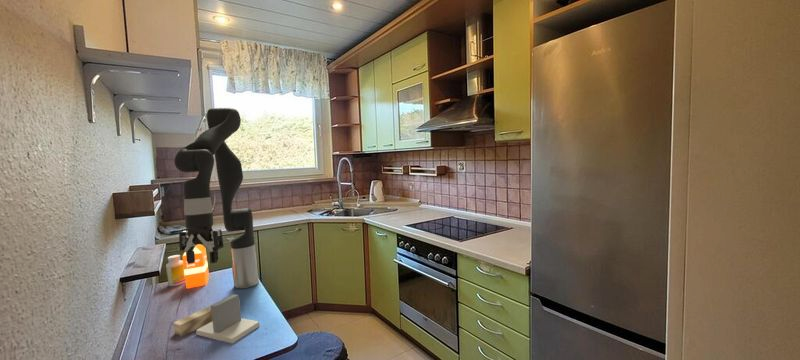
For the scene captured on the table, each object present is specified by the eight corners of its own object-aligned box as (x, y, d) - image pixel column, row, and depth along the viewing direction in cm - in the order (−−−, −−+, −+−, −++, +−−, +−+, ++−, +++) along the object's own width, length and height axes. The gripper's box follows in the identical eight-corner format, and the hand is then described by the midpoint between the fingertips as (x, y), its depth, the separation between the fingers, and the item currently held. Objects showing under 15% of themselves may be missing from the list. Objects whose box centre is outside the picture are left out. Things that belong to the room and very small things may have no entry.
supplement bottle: (189, 281, 151) (186, 254, 150) (177, 286, 145) (173, 258, 143) (178, 280, 152) (174, 253, 151) (164, 286, 146) (161, 258, 145)
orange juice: (186, 288, 142) (180, 243, 140) (190, 281, 150) (185, 239, 148) (206, 284, 144) (201, 240, 143) (209, 278, 153) (204, 236, 151)
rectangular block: (181, 337, 102) (180, 325, 102) (175, 334, 104) (173, 322, 104) (240, 308, 119) (238, 298, 119) (233, 306, 121) (232, 296, 121)
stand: (196, 334, 102) (192, 304, 102) (225, 318, 111) (221, 290, 111) (232, 343, 96) (228, 311, 95) (259, 326, 105) (256, 296, 104)
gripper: (226, 210, 106) (230, 259, 106) (189, 211, 109) (193, 260, 109) (208, 213, 98) (212, 266, 99) (169, 214, 101) (173, 266, 102)
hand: (202, 263), depth 104 cm, fingers open, 8 cm apart
